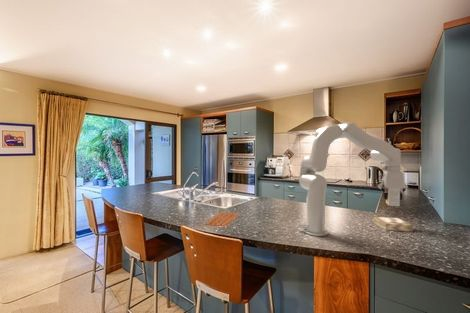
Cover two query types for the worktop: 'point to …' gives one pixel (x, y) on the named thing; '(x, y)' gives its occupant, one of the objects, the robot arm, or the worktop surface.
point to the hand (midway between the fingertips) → (392, 199)
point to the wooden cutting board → (222, 219)
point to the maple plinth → (393, 224)
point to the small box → (393, 197)
